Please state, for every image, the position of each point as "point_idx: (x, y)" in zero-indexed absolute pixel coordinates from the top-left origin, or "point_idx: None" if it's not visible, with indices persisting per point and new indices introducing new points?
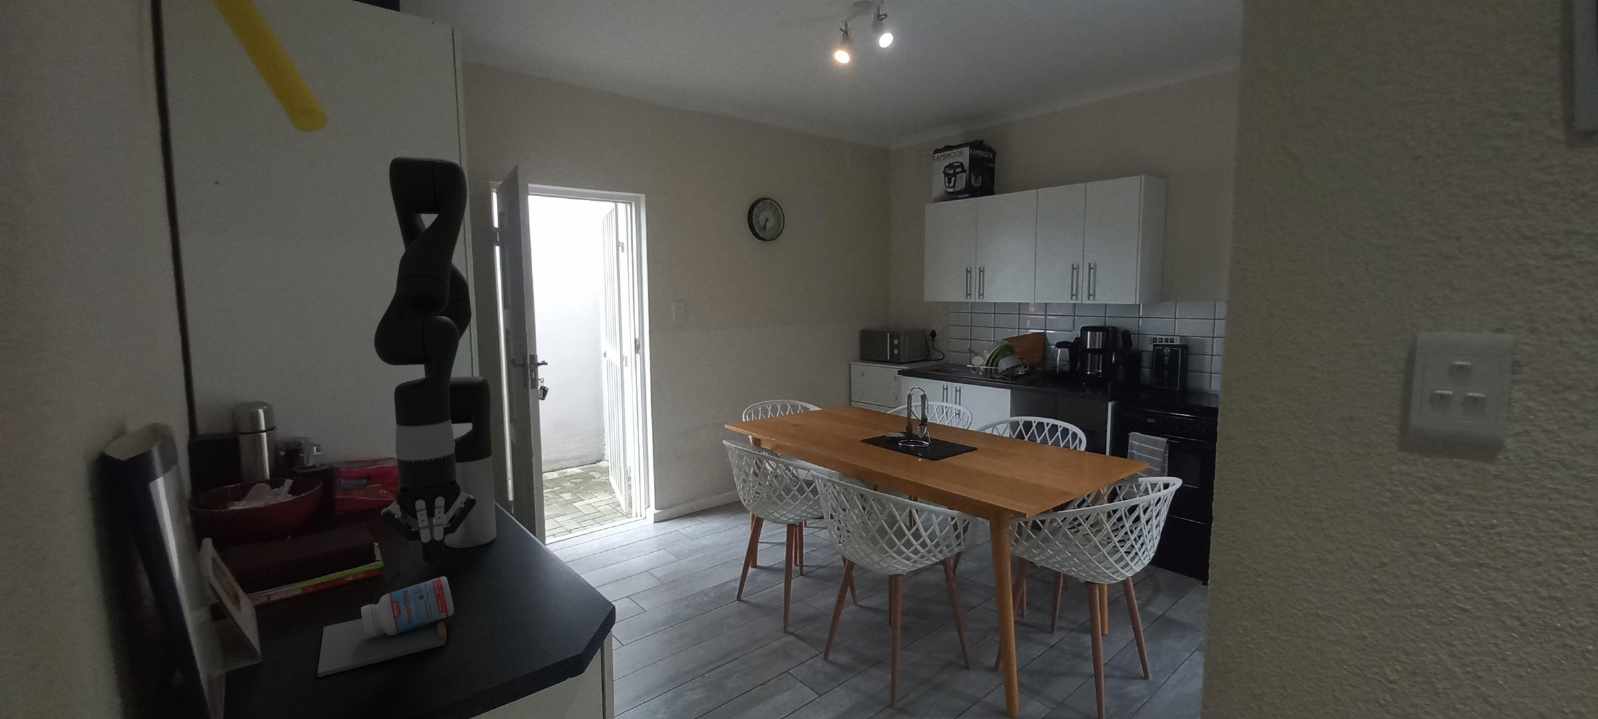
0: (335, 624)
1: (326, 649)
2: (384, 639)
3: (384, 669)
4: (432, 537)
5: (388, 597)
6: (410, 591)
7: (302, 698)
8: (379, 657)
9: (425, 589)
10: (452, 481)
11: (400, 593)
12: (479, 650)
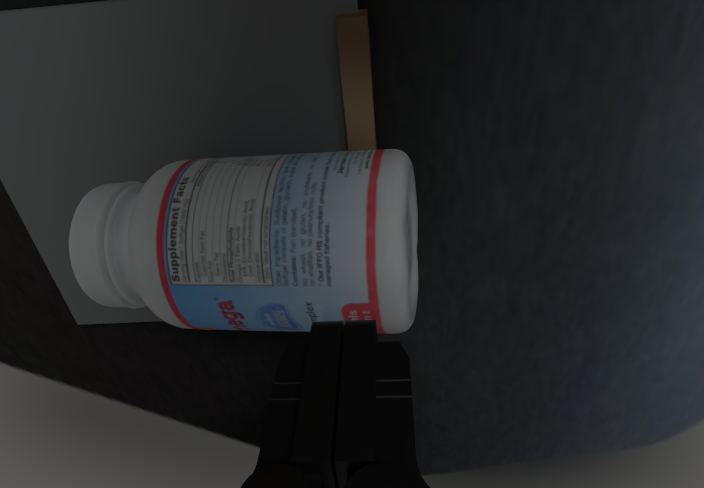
0: None
1: (34, 212)
2: None
3: (238, 344)
4: (338, 475)
5: (169, 313)
6: (253, 319)
7: (91, 374)
8: None
9: None
10: None
11: (213, 315)
12: (462, 360)
